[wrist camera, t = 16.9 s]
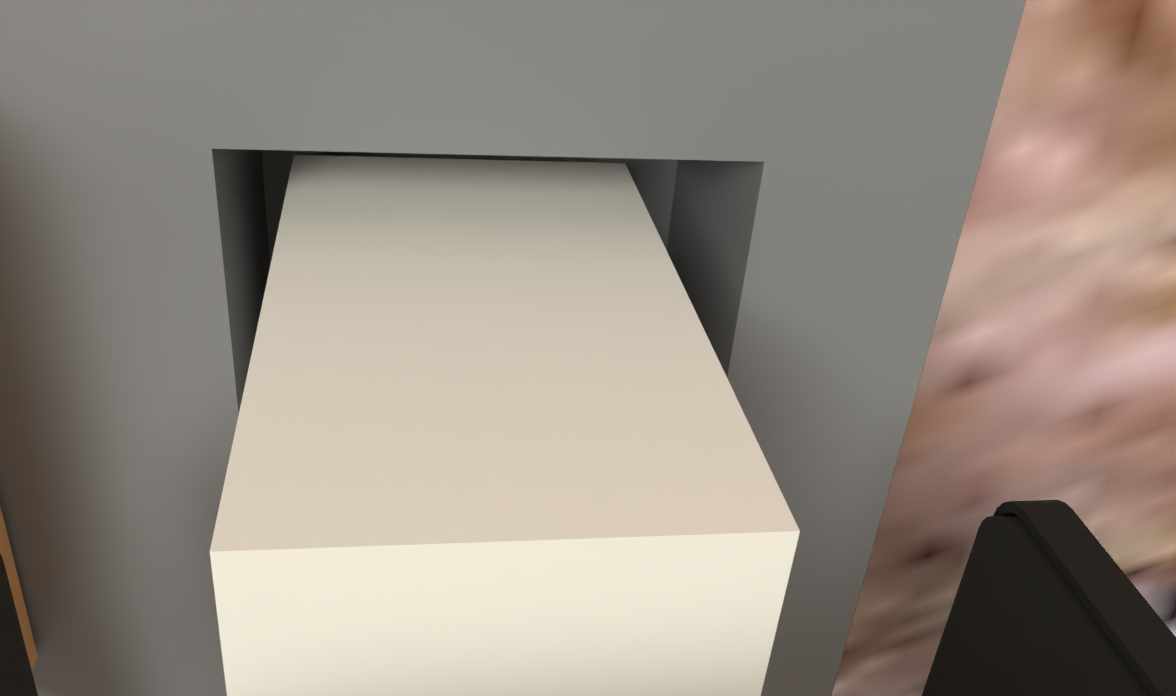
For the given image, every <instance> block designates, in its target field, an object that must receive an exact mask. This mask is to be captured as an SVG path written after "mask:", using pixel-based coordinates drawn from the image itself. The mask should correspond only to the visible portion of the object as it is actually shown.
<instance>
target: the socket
mask: <svg viewBox="0 0 1176 696" xmlns="http://www.w3.org/2000/svg"><path fill="white" fill-rule="evenodd" d="M1025 2H1026V0H0V507H1V511H2V515H3V519H4V523H5V527H6V531H7V535H8V539H9V543H10V547H11V551H12V555H13V559H14V563H15V567H16V571H17V575H18V579H19V583H20V587H21V591H22V595H23V599H24V603H25V607H26V611H27V615H28V619H29V623H30V627H31V631H32V635H33V639H34V643H35V647H36V651H37V655H38V657H37V660H36V663H35V665H34V668H33V671H32V674H33V678H34V682H35V686H36V690H37V693H38V696H227V692H226V684H225V675H224V667H223V659H222V650H221V642H220V634H219V626H218V617H217V609H216V601H215V592H214V584H213V576H212V568H211V559H210V548H211V543H212V538H213V533H214V529H215V524H216V519H217V515H218V510H219V505H220V500H221V496H222V491H223V486H224V482H225V477H226V472H227V467H228V463H229V458H230V453H231V449H232V444H233V439H234V434H235V430H236V425H237V420H238V416H239V411H240V406H241V401H242V397H243V392H244V387H245V383H246V378H247V373H248V368H249V364H250V359H251V354H252V350H253V345H254V340H255V335H256V331H257V326H258V321H259V317H260V312H261V307H262V302H263V298H264V293H265V288H266V284H267V279H268V274H269V269H270V265H271V260H272V255H273V251H274V246H275V241H276V236H277V232H278V227H279V222H280V218H281V213H282V208H283V204H284V199H285V194H286V189H287V185H288V180H289V175H290V171H291V166H292V161H293V156H294V155H323V156H362V157H401V158H440V159H479V160H518V161H558V162H597V163H625V164H626V166H627V168H628V171H629V173H630V175H631V177H632V179H633V181H634V183H635V185H636V187H637V189H638V192H639V194H640V196H641V198H642V200H643V202H644V204H645V206H646V208H647V210H648V213H649V215H650V217H651V219H652V221H653V223H654V225H655V227H656V229H657V232H658V234H659V236H660V238H661V240H662V242H663V244H664V246H665V248H666V250H667V253H668V255H669V257H670V259H671V261H672V263H673V265H674V267H675V269H676V271H677V274H678V276H679V278H680V280H681V282H682V284H683V286H684V288H685V290H686V292H687V295H688V297H689V299H690V301H691V303H692V305H693V307H694V309H695V311H696V314H697V316H698V318H699V320H700V322H701V324H702V326H703V328H704V330H705V332H706V335H707V337H708V339H709V341H710V343H711V345H712V347H713V349H714V351H715V353H716V356H717V358H718V360H719V362H720V364H721V366H722V368H723V370H724V372H725V375H726V377H727V379H728V381H729V383H730V385H731V387H732V389H733V391H734V393H735V396H736V398H737V400H738V402H739V404H740V406H741V408H742V410H743V412H744V414H745V417H746V419H747V421H748V423H749V425H750V427H751V429H752V431H753V433H754V435H755V438H756V440H757V442H758V444H759V446H760V448H761V450H762V452H763V454H764V457H765V459H766V461H767V463H768V465H769V467H770V469H771V471H772V473H773V475H774V478H775V480H776V482H777V484H778V486H779V488H780V490H781V492H782V494H783V496H784V499H785V501H786V503H787V505H788V507H789V509H790V511H791V513H792V515H793V518H794V520H795V522H796V524H797V526H798V528H799V530H800V533H799V537H798V542H797V546H796V550H795V554H794V558H793V562H792V567H791V571H790V575H789V579H788V583H787V587H786V592H785V596H784V600H783V604H782V608H781V612H780V617H779V621H778V625H777V629H776V633H775V637H774V642H773V646H772V650H771V654H770V658H769V662H768V667H767V671H766V675H765V679H764V683H763V687H762V692H761V696H831V695H832V691H833V688H834V684H835V680H836V677H837V673H838V670H839V666H840V663H841V659H842V655H843V652H844V648H845V645H846V641H847V638H848V634H849V630H850V627H851V623H852V620H853V616H854V613H855V609H856V605H857V602H858V598H859V595H860V591H861V588H862V584H863V580H864V577H865V573H866V570H867V566H868V563H869V559H870V555H871V552H872V548H873V545H874V541H875V538H876V534H877V531H878V527H879V523H880V520H881V516H882V513H883V509H884V506H885V502H886V498H887V495H888V491H889V488H890V484H891V481H892V477H893V473H894V470H895V466H896V463H897V459H898V456H899V452H900V448H901V445H902V441H903V438H904V434H905V431H906V427H907V423H908V420H909V416H910V413H911V409H912V406H913V402H914V398H915V395H916V391H917V388H918V384H919V381H920V377H921V373H922V370H923V366H924V363H925V359H926V356H927V352H928V349H929V345H930V341H931V338H932V334H933V331H934V327H935V324H936V320H937V316H938V313H939V309H940V306H941V302H942V299H943V295H944V291H945V288H946V284H947V281H948V277H949V274H950V270H951V266H952V263H953V259H954V256H955V252H956V249H957V245H958V241H959V238H960V234H961V231H962V227H963V224H964V220H965V216H966V213H967V209H968V206H969V202H970V199H971V195H972V192H973V188H974V184H975V181H976V177H977V174H978V170H979V167H980V163H981V159H982V156H983V152H984V149H985V145H986V142H987V138H988V134H989V131H990V127H991V124H992V120H993V117H994V113H995V109H996V106H997V102H998V99H999V95H1000V92H1001V88H1002V84H1003V81H1004V77H1005V74H1006V70H1007V67H1008V63H1009V59H1010V56H1011V52H1012V49H1013V45H1014V42H1015V38H1016V34H1017V31H1018V27H1019V24H1020V20H1021V17H1022V13H1023V10H1024V6H1025Z"/></svg>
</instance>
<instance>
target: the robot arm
mask: <svg viewBox="0 0 1176 696" xmlns="http://www.w3.org/2000/svg"><path fill="white" fill-rule="evenodd" d="M0 696H38V693H37V690H36V686H35V682H34V678H33V674H32V670H31V666H30V662H29V658H28V654H27V650H26V647H25V643H24V639H23V635H22V631H21V627H20V623H19V619H18V615H17V611H16V607H15V604H14V600H13V596H12V592H11V588H10V584H9V580H8V576H7V572H6V568H5V564H4V561H3V558H2V556H1V554H0ZM922 696H1176V637H1175V636H1174V635H1173V633H1172V632H1171V631H1170V630H1169V628H1168V627H1167V626H1166V625H1165V623H1164V622H1163V621H1162V620H1161V618H1160V617H1159V616H1158V615H1157V613H1156V612H1155V611H1154V610H1153V609H1152V607H1151V606H1150V605H1149V604H1148V602H1147V601H1146V600H1145V599H1144V597H1143V596H1142V595H1141V594H1140V592H1139V591H1138V590H1137V589H1136V588H1135V586H1134V585H1133V584H1132V583H1131V581H1130V580H1129V579H1128V578H1127V576H1126V575H1125V574H1124V573H1123V571H1122V570H1121V569H1120V568H1119V566H1118V565H1117V564H1116V563H1115V562H1114V560H1113V559H1112V558H1111V557H1110V555H1109V554H1108V553H1107V552H1106V550H1105V549H1104V548H1103V547H1102V545H1101V544H1100V543H1099V542H1098V541H1097V539H1096V538H1095V537H1094V536H1093V534H1092V533H1091V532H1090V531H1089V529H1088V528H1087V527H1086V526H1085V524H1084V523H1083V522H1082V521H1081V519H1080V518H1079V517H1078V516H1077V515H1076V513H1075V512H1074V511H1073V510H1072V509H1071V508H1070V507H1069V506H1068V505H1067V504H1066V503H1064V502H1061V501H1059V500H1043V501H1011V502H1005V503H1002V504H1001V505H1000V506H999V507H998V508H997V510H996V512H995V514H994V516H991V517H986V518H985V519H984V520H983V521H982V523H981V525H980V527H979V530H978V532H977V535H976V538H975V541H974V544H973V547H972V550H971V553H970V556H969V559H968V562H967V565H966V568H965V571H964V573H963V576H962V579H961V582H960V585H959V588H958V591H957V594H956V597H955V600H954V603H953V606H952V609H951V612H950V614H949V617H948V620H947V623H946V626H945V629H944V632H943V635H942V638H941V641H940V644H939V647H938V650H937V653H936V655H935V658H934V661H933V664H932V667H931V670H930V673H929V676H928V679H927V682H926V685H925V688H924V691H923V694H922Z"/></svg>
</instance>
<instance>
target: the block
mask: <svg viewBox="0 0 1176 696" xmlns="http://www.w3.org/2000/svg"><path fill="white" fill-rule="evenodd" d="M799 533H800V530H799V528H798V526H797V524H796V522H795V520H794V518H793V515H792V513H791V511H790V509H789V507H788V505H787V503H786V501H785V499H784V496H783V494H782V492H781V490H780V488H779V486H778V484H777V482H776V480H775V478H774V475H773V473H772V471H771V469H770V467H769V465H768V463H767V461H766V459H765V457H764V454H763V452H762V450H761V448H760V446H759V444H758V442H757V440H756V438H755V435H754V433H753V431H752V429H751V427H750V425H749V423H748V421H747V419H746V417H745V414H744V412H743V410H742V408H741V406H740V404H739V402H738V400H737V398H736V396H735V393H734V391H733V389H732V387H731V385H730V383H729V381H728V379H727V377H726V375H725V372H724V370H723V368H722V366H721V364H720V362H719V360H718V358H717V356H716V353H715V351H714V349H713V347H712V345H711V343H710V341H709V339H708V337H707V335H706V332H705V330H704V328H703V326H702V324H701V322H700V320H699V318H698V316H697V314H696V311H695V309H694V307H693V305H692V303H691V301H690V299H689V297H688V295H687V292H686V290H685V288H684V286H683V284H682V282H681V280H680V278H679V276H678V274H677V271H676V269H675V267H674V265H673V263H672V261H671V259H670V257H669V255H668V253H667V250H666V248H665V246H664V244H663V242H662V240H661V238H660V236H659V234H658V232H657V229H656V227H655V225H654V223H653V221H652V219H651V217H650V215H649V213H648V210H647V208H646V206H645V204H644V202H643V200H642V198H641V196H640V194H639V192H638V189H637V187H636V185H635V183H634V181H633V179H632V177H631V175H630V173H629V171H628V168H627V166H626V164H625V163H597V162H558V161H518V160H479V159H440V158H401V157H362V156H323V155H294V156H293V161H292V166H291V171H290V175H289V180H288V185H287V189H286V194H285V199H284V204H283V208H282V213H281V218H280V222H279V227H278V232H277V236H276V241H275V246H274V251H273V255H272V260H271V265H270V269H269V274H268V279H267V284H266V288H265V293H264V298H263V302H262V307H261V312H260V317H259V321H258V326H257V331H256V335H255V340H254V345H253V350H252V354H251V359H250V364H249V368H248V373H247V378H246V383H245V387H244V392H243V397H242V401H241V406H240V411H239V416H238V420H237V425H236V430H235V434H234V439H233V444H232V449H231V453H230V458H229V463H228V467H227V472H226V477H225V482H224V486H223V491H222V496H221V500H220V505H219V510H218V515H217V519H216V524H215V529H214V533H213V538H212V543H211V548H210V559H211V568H212V576H213V584H214V592H215V601H216V609H217V617H218V626H219V634H220V642H221V650H222V659H223V667H224V675H225V684H226V692H227V696H761V692H762V687H763V683H764V679H765V675H766V671H767V667H768V662H769V658H770V654H771V650H772V646H773V642H774V637H775V633H776V629H777V625H778V621H779V617H780V612H781V608H782V604H783V600H784V596H785V592H786V587H787V583H788V579H789V575H790V571H791V567H792V562H793V558H794V554H795V550H796V546H797V542H798V537H799Z"/></svg>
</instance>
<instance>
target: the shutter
mask: <svg viewBox="0 0 1176 696" xmlns="http://www.w3.org/2000/svg"><path fill="white" fill-rule="evenodd" d="M0 554H1V556H2V558H3V561H4V564H5V568H6V572H7V576H8V580H9V584H10V588H11V592H12V596H13V600H14V604H15V607H16V611H17V615H18V619H19V623H20V627H21V631H22V635H23V639H24V643H25V647H26V650H27V654H28V658H29V662H30V666H31V670H32V671H33V668H34V665H35V663H36V660H37V657H38V655H37V651H36V647H35V643H34V639H33V635H32V631H31V627H30V623H29V619H28V615H27V611H26V607H25V603H24V599H23V595H22V591H21V587H20V583H19V579H18V575H17V571H16V567H15V563H14V559H13V555H12V551H11V547H10V543H9V539H8V535H7V531H6V527H5V523H4V519H3V515H2V511H1V507H0Z"/></svg>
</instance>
